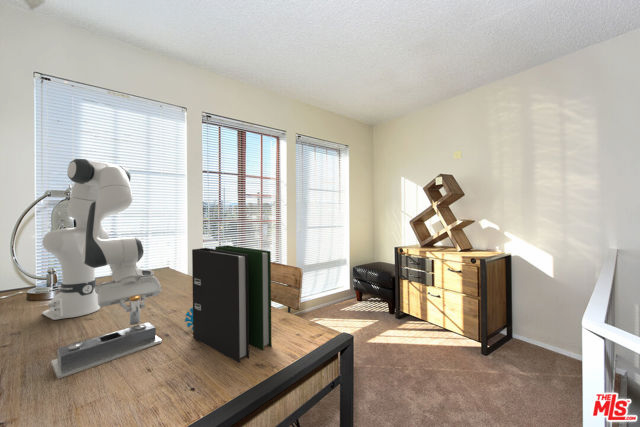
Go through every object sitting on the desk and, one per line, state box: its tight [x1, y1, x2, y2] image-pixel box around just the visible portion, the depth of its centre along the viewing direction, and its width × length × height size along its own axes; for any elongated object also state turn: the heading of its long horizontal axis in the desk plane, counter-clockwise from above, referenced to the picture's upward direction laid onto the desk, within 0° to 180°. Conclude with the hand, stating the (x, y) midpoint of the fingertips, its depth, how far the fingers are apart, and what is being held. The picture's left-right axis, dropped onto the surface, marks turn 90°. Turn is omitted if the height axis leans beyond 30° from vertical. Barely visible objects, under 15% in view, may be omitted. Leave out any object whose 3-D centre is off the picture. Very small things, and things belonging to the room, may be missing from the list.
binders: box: [191, 245, 273, 364], centre depth 93 cm, size 27×15×32 cm, turn 51°
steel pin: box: [129, 295, 141, 326], centre depth 101 cm, size 4×4×10 cm
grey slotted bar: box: [51, 322, 163, 380], centre depth 86 cm, size 26×12×6 cm, turn 141°
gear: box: [184, 307, 193, 331], centre depth 106 cm, size 11×6×10 cm
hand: (135, 309), depth 100 cm, fingers closed on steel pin, 3 cm apart
